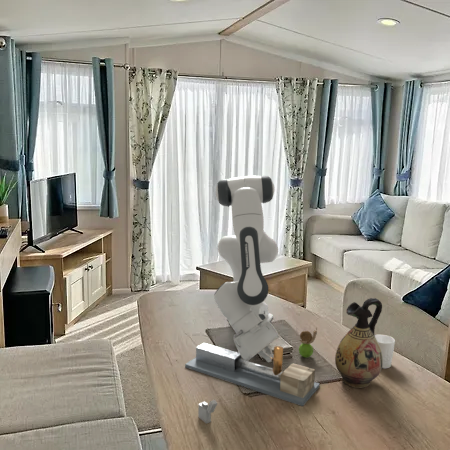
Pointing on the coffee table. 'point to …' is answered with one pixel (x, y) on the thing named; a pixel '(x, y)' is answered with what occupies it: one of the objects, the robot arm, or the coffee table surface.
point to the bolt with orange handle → (263, 370)
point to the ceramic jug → (360, 347)
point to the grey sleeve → (217, 356)
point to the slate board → (251, 381)
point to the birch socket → (297, 380)
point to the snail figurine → (307, 343)
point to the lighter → (206, 410)
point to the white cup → (386, 348)
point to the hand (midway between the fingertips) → (271, 360)
